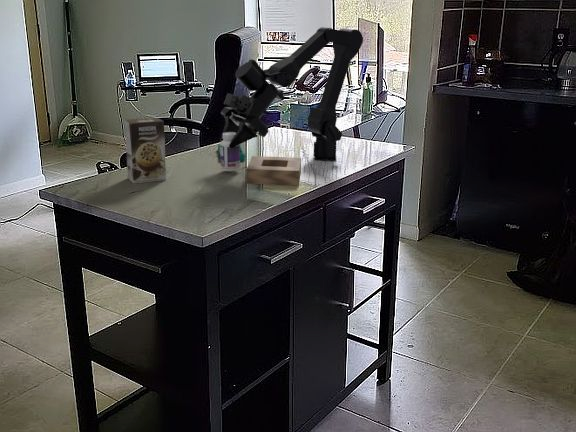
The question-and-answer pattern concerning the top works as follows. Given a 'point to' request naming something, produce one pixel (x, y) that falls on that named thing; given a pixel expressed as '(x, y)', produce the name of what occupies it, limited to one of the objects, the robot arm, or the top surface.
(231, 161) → the pill bottle
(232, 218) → the top surface
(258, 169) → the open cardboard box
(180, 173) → the top surface
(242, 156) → the digital multimeter
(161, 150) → the cookie box
